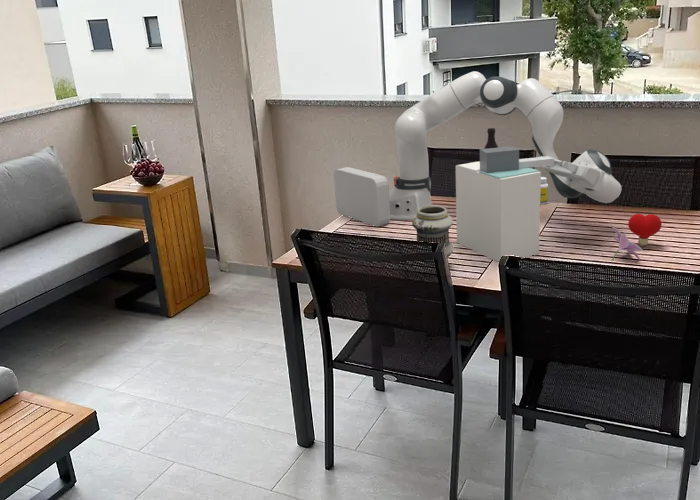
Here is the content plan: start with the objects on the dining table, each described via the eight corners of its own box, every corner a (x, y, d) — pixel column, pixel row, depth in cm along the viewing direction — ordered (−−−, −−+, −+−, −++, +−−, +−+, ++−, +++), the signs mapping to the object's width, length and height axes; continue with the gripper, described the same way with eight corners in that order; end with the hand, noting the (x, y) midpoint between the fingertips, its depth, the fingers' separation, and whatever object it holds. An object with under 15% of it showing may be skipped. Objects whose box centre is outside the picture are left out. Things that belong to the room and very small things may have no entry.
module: (546, 161, 204) (547, 142, 203) (555, 165, 199) (556, 145, 197) (479, 168, 202) (479, 149, 200) (486, 173, 196) (486, 152, 194)
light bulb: (658, 242, 205) (661, 211, 202) (660, 250, 199) (663, 218, 195) (626, 241, 208) (628, 210, 205) (627, 248, 202) (629, 217, 198)
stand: (492, 234, 223) (492, 158, 215) (538, 254, 203) (541, 170, 194) (456, 242, 218) (455, 164, 210) (500, 263, 197) (501, 178, 189)
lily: (640, 272, 186) (655, 241, 186) (600, 255, 188) (615, 224, 187) (630, 270, 198) (644, 240, 197) (592, 254, 200) (606, 225, 199)
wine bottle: (481, 204, 259) (481, 127, 249) (499, 203, 258) (500, 126, 248) (482, 209, 252) (482, 130, 242) (501, 208, 251) (501, 129, 241)
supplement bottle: (532, 204, 254) (533, 179, 251) (534, 200, 259) (534, 176, 256) (547, 204, 252) (547, 179, 249) (548, 201, 257) (549, 176, 254)
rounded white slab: (395, 223, 243) (393, 175, 237) (378, 228, 239) (376, 179, 233) (352, 209, 266) (349, 164, 260) (336, 213, 262) (333, 168, 256)
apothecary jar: (419, 276, 192) (417, 216, 186) (409, 262, 204) (406, 206, 198) (459, 271, 194) (458, 212, 188) (446, 257, 205) (445, 201, 199)
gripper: (562, 162, 217) (533, 146, 211) (609, 172, 200) (579, 155, 193) (554, 180, 218) (525, 165, 212) (600, 192, 200) (570, 176, 194)
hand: (551, 160), depth 202 cm, fingers open, 8 cm apart
